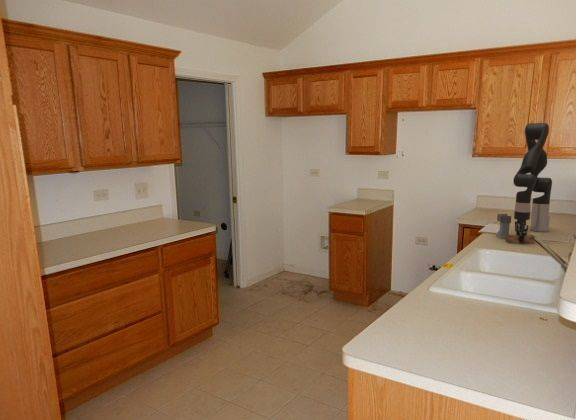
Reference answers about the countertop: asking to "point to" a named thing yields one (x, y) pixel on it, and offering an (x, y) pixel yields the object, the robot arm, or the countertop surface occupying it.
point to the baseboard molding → (490, 229)
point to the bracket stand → (504, 225)
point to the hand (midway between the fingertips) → (519, 241)
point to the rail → (515, 238)
